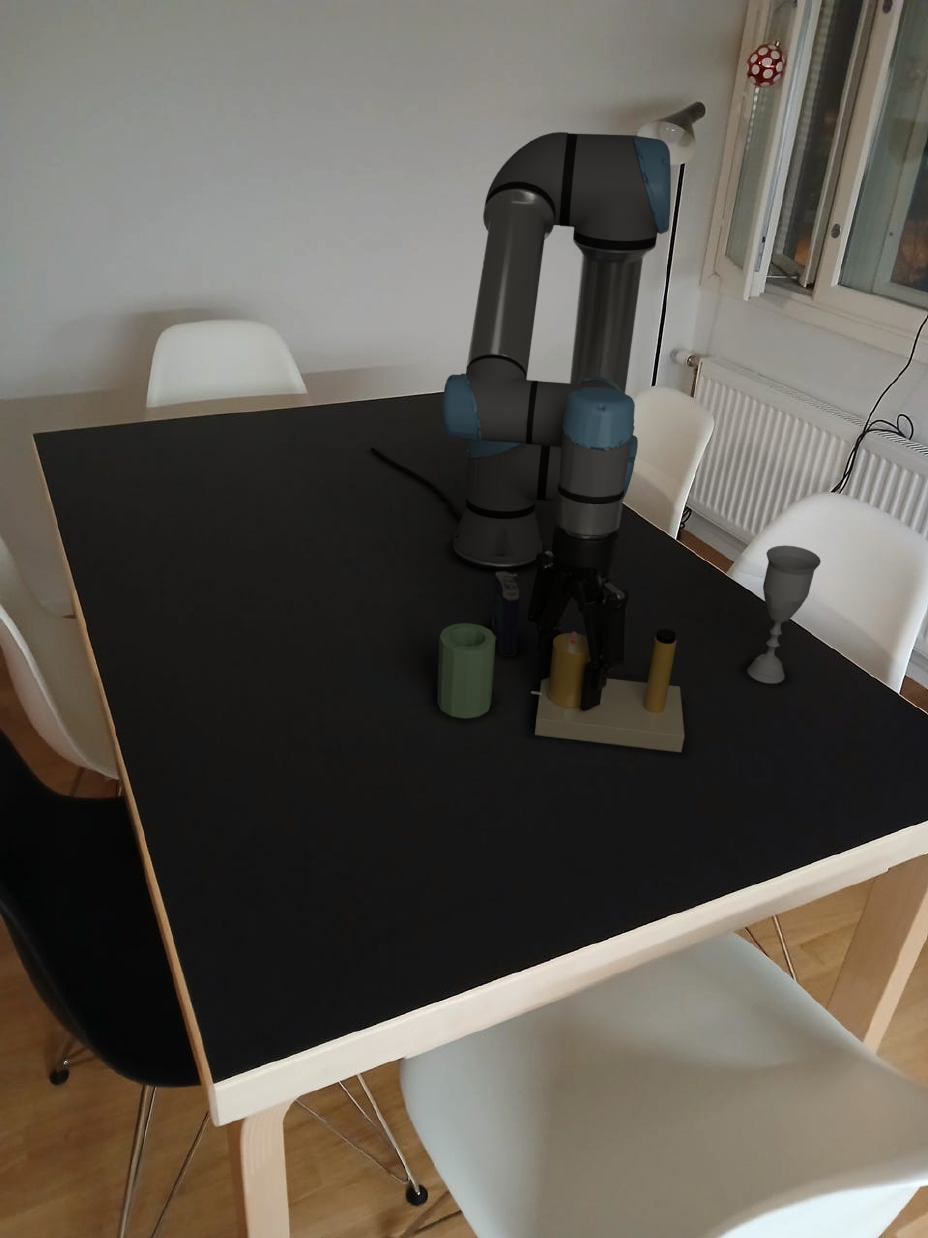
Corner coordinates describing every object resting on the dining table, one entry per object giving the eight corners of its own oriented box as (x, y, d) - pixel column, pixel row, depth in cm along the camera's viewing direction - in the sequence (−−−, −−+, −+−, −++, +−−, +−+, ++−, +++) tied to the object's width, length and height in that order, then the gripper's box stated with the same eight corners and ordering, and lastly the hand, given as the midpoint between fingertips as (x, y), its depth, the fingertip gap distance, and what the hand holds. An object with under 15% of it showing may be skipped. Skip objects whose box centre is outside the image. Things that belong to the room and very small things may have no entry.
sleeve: (427, 702, 125) (428, 636, 120) (463, 682, 129) (466, 617, 124) (465, 725, 121) (468, 657, 116) (501, 703, 125) (506, 637, 120)
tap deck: (525, 733, 120) (527, 716, 118) (533, 685, 129) (534, 669, 128) (681, 752, 118) (684, 735, 116) (677, 702, 127) (680, 685, 126)
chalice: (751, 654, 139) (776, 540, 130) (798, 670, 136) (827, 555, 127) (733, 676, 133) (758, 559, 124) (781, 693, 130) (811, 574, 121)
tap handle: (586, 710, 120) (593, 653, 116) (546, 705, 121) (552, 649, 117) (587, 688, 125) (594, 632, 121) (548, 683, 125) (554, 628, 121)
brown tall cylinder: (642, 721, 121) (656, 637, 115) (642, 709, 124) (655, 627, 118) (663, 723, 121) (678, 640, 115) (662, 712, 123) (677, 629, 117)
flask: (489, 623, 143) (494, 558, 138) (509, 623, 144) (514, 558, 138) (500, 656, 135) (505, 589, 130) (521, 656, 136) (527, 588, 130)
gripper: (675, 551, 106) (646, 721, 117) (552, 490, 120) (538, 647, 131) (626, 567, 102) (602, 741, 113) (505, 502, 116) (494, 663, 127)
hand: (567, 690), depth 122 cm, fingers open, 7 cm apart
